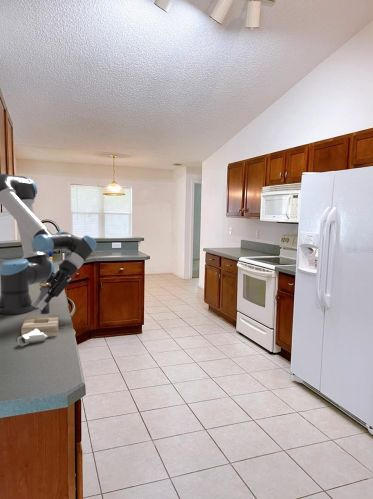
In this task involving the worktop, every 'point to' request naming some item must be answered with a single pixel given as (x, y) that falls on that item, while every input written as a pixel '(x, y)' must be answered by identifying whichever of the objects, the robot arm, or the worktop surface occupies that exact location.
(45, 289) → the gold-capped peg
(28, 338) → the pipe fitting
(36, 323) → the socket block
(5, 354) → the worktop surface
